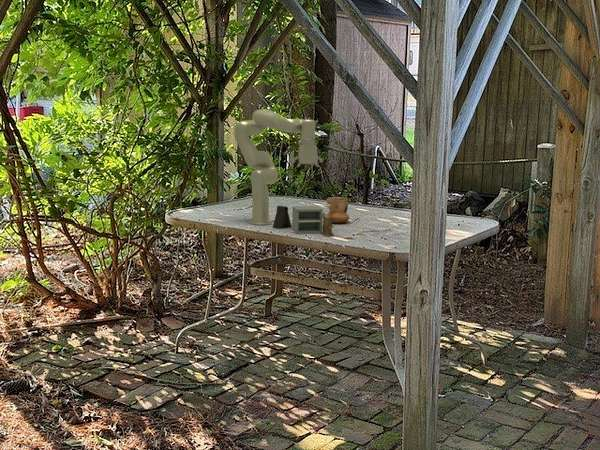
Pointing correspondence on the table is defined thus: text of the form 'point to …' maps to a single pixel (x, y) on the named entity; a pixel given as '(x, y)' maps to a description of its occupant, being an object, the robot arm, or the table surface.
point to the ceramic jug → (338, 209)
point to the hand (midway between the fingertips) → (307, 174)
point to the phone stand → (282, 218)
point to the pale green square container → (307, 219)
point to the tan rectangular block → (327, 225)
